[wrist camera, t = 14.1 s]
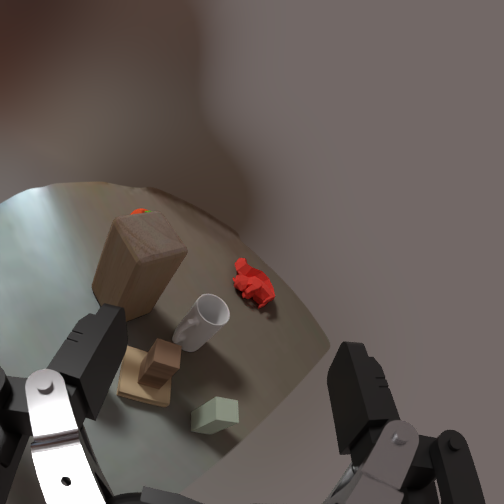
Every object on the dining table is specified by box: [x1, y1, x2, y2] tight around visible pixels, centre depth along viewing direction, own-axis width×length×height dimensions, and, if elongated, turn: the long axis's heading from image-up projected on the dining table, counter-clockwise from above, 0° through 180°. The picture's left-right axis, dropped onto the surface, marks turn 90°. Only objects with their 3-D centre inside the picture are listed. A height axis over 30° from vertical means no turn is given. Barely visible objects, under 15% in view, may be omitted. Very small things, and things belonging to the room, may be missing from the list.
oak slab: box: [117, 346, 172, 407], centre depth 48 cm, size 9×9×3 cm
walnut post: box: [137, 338, 182, 389], centre depth 45 cm, size 4×4×10 cm
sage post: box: [191, 397, 239, 435], centre depth 46 cm, size 4×4×10 cm
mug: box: [172, 294, 230, 352], centre depth 56 cm, size 10×7×12 cm, turn 135°
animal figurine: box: [233, 258, 275, 309], centre depth 82 cm, size 12×15×5 cm
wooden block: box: [92, 211, 188, 322], centre depth 52 cm, size 10×10×20 cm
